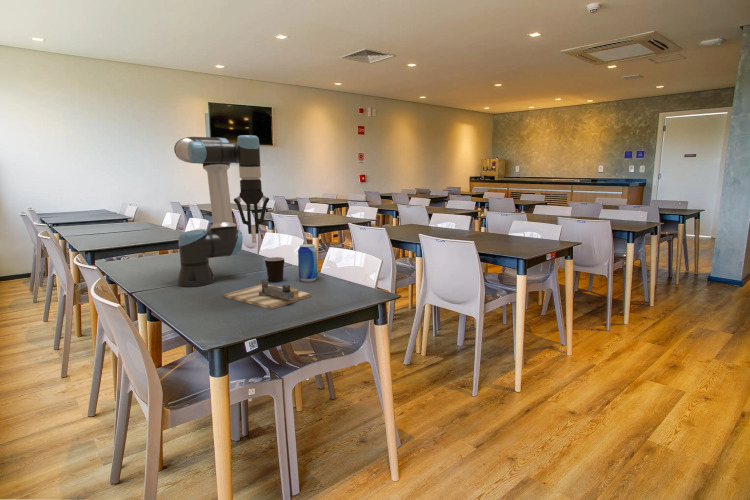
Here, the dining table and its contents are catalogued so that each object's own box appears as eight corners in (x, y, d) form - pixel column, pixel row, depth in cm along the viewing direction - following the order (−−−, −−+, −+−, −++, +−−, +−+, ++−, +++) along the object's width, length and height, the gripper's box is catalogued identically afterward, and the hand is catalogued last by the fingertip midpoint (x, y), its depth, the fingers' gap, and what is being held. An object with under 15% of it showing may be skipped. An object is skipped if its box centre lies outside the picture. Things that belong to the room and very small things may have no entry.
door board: (224, 297, 171) (222, 279, 170) (263, 286, 187) (263, 270, 186) (271, 309, 155) (270, 290, 154) (311, 296, 171) (310, 279, 170)
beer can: (295, 281, 195) (294, 246, 193) (305, 277, 203) (304, 243, 200) (311, 282, 192) (310, 247, 189) (321, 278, 200) (320, 244, 197)
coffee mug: (280, 283, 192) (279, 261, 190) (262, 282, 193) (261, 260, 192) (290, 277, 203) (290, 256, 201) (273, 276, 205) (272, 255, 203)
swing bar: (264, 293, 168) (263, 282, 167) (270, 291, 170) (270, 280, 169) (287, 299, 159) (287, 287, 158) (294, 297, 161) (293, 286, 160)
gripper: (268, 178, 164) (271, 240, 168) (232, 179, 161) (236, 241, 165) (269, 178, 157) (272, 243, 161) (231, 179, 154) (235, 244, 158)
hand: (254, 242), depth 163 cm, fingers closed
